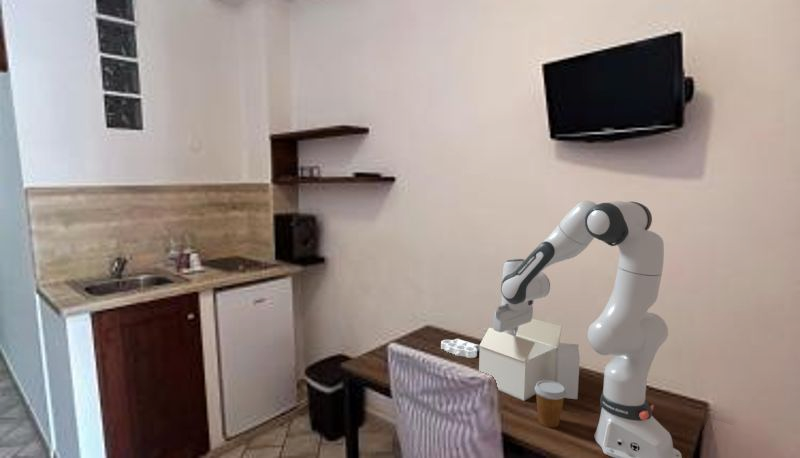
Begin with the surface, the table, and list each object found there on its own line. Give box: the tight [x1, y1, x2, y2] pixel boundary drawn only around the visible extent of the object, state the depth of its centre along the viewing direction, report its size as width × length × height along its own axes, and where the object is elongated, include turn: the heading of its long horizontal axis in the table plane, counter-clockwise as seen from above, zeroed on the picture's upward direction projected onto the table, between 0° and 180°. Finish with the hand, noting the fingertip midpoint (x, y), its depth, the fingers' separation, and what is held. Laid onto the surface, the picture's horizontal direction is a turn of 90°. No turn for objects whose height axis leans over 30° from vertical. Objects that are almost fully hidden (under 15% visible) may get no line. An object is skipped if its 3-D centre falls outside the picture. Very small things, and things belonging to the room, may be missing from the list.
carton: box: [478, 335, 557, 402], centre depth 171 cm, size 20×22×14 cm
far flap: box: [516, 318, 563, 347], centre depth 178 cm, size 20×8×1 cm
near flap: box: [478, 327, 535, 362], centre depth 165 cm, size 20×8×1 cm
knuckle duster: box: [440, 338, 480, 359], centre depth 203 cm, size 3×18×15 cm
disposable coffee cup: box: [535, 381, 566, 428], centre depth 143 cm, size 10×10×12 cm
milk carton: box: [554, 342, 581, 400], centre depth 162 cm, size 7×7×19 cm
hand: (512, 338), depth 167 cm, fingers closed
